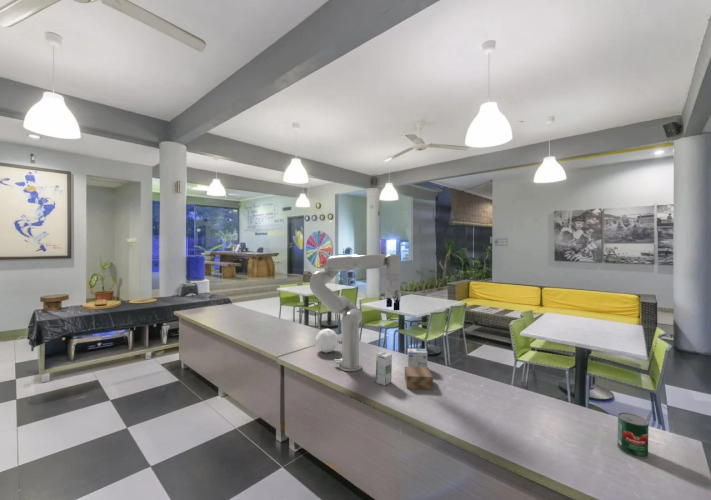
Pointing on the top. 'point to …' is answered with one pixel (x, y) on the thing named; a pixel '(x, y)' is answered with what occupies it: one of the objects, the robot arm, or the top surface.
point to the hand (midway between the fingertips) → (392, 308)
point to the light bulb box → (417, 358)
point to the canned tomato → (633, 435)
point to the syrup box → (383, 368)
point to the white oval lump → (327, 340)
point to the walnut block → (418, 378)
